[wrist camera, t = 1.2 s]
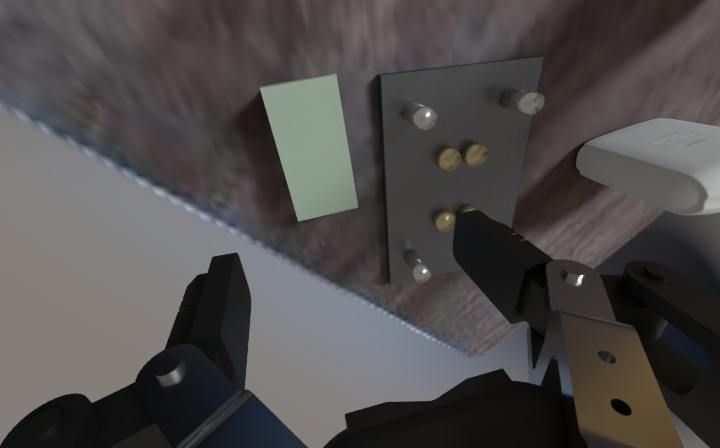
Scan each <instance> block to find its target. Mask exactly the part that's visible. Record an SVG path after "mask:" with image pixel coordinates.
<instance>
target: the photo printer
mask: <svg viewBox="0 0 720 448" xmlns="http://www.w3.org/2000/svg"><path fill="white" fill-rule="evenodd" d="M576 167H577V169H578V170H579V171H580V174H581V175H582V176H584V177H586V178H589V179H591V180H594V181H596V182H599V183H601V184H604V185H606V186H609V187H611V188H614V189H616V190H619V191H621V192H624V193H626V194H629V195H631V196H633V197H636V198H638V199H641V200H643V201H646V202H648V203H650V204H653V205H655V206H658V207H660V208H663V209H665V210H668V211H670V212H673V213H676V214H680V215H704V214H712V213H718V212H720V127H716V126H710V125H704V124H699V123H693V122H687V121H680V120H675V119H667V118H659V119H652V120H648V121H645V122H641V123H638V124H635V125H632V126H628V127H625V128H622V129H619V130H616V131H614V132H611V133H608V134H605V135H602V136H600V137H597V138H594V139H592V140H590V141H588V142H586V143H585V144H584V146H583V147H581V149H580V150H579V152H578V155H577V158H576Z"/></svg>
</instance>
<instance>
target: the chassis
mask: <svg viewBox="0 0 720 448" xmlns="http://www.w3.org/2000/svg"><path fill="white" fill-rule="evenodd" d="M543 58H544V56H533V57H524V58H516V59H507V60H499V61H490V62H482V63H473V64H464V65H456V66H447V67H439V68H430V69H422V70H413V71H405V72H396V73H387V74H379V75H377V77H378V97H379V116H380V136H381V155H382V174H383V194H384V213H385V232H386V252H387V271H388V281H389V283H390V285H394V284H398V283H403V282H407V281H412V280H416V281H417V282H419V283H423V282H426V281H427V280H429V278H430V276H434V275H439V274H443V273H448V272H452V271H457V270H461V269H462V268H461V267H460V266H459V264H458V263H457V262H456V260H455V258H454V255H453V250H452V247H453V237H454V228H455V219H456V216H457V214H458V213H461V212H466V211H472V210H480V211H481V212H483V213H484V214H485V215H487V216H488V217H489V218H491V219H492V220H495V221H498V222H500V223H503V224H505V225H507V226H509V227H510V228H511V227H512V222H513V216H514V211H515V206H516V200H517V195H518V190H519V185H520V179H521V174H522V169H523V163H524V158H525V153H526V147H527V142H528V137H529V132H530V126H531V121H532V116H533V114H536V113H538V112H539V111H540V110H541V109H542V107H543V105H544V96H543V95H542V94H541V93H537V89H538V84H539V79H540V73H541V68H542V63H543Z"/></svg>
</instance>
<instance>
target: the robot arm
mask: <svg viewBox="0 0 720 448" xmlns="http://www.w3.org/2000/svg"><path fill="white" fill-rule="evenodd" d="M452 250H453V255H454V258H455V260H456V262H457V263H458V264H459V266H460V267H461V268H462V269H463V270H464V271H465V272H466V274H467V275H468V276H469V277H470V278H471V279H472V280H473V281H474V283H475V284H476V285H477V286H478V287H479V288H480V289H481V291H482V292H483V293H484V294H485V295H486V296H487V297H488V298H489V300H490V301H491V302H492V303H493V304H494V305H495V306H496V308H497V309H498V310H499V311H500V312H501V313H502V314H503V316H504V317H505V318H506V319H507V320H508V321H509V322H510V323H511V324H514V323H518V322H522V321H527V322H528V324H529V326H528V329H527V347H528V373H529V381H528V383H527V382H519V381H512V380H511V379H510V378H509V376H508V375H507V374H506V372H505V371H504V370H503V369H499V370H496V371H492V372H489V373H485V374H482V375H478V376H475V377H471V378H468V379H466V380H464V381H463V382H461V383H460V384H458V385H457V386H455V387H454V388H452V389H451V390H449V391H448V392H446V393H445V394H443V395H441V396H440V397H438V398H437V399H435V400H432V401H415V402H385V403H382V404H378V405H375V406H371V407H368V408H365V409H361V410H357V411H354V412H350V413H347V414H345V419H346V425H347V428H346V429H345V430H343V431H342V432H340V433H339V434H337V435H336V436H335V437H334V438H333V439H331V440H330V441H329V442H328V443H327V444H326V445H325V446H324V447H323V448H684V447H683V444H682V442H681V439H680V437H679V434H678V432H677V430H676V427H675V424H674V422H673V420H672V417H671V415H670V413H669V410H668V408H669V409H670V410H671V411H672V412H673V413H674V414H675V415H676V416H677V417H678V418H679V419H680V420H682V421H683V422H684V423H685V424H686V425H687V426H688V427H689V428H690V429H691V430H692V431H693V432H694V433H695V434H696V435H697V436H698V437H699V438H700V439H701V440H702V441H703V442H705V443H706V444H707V445H708V446H709V447H710V448H720V296H719V295H718V294H716V293H714V292H712V291H710V290H709V289H707V288H705V287H704V286H702V285H700V284H698V283H696V282H695V281H693V280H691V279H690V278H688V277H686V276H685V275H683V274H681V273H679V272H677V271H676V270H674V269H672V268H670V267H667V266H664V265H662V264H658V263H654V262H650V261H641V260H640V261H638V260H637V261H631V262H629V263H627V264H626V266H625V268H624V270H623V273H622V275H599V274H598V273H597V272H596V271H595V270H593V269H592V268H590V267H589V266H587V265H584V264H582V263H579V262H576V261H571V260H562V259H560V260H553V259H552V258H551V257H549V256H548V255H547V254H545V253H544V252H543V251H541V250H540V249H539V248H537V247H536V246H534V245H533V244H532V243H530V242H529V241H528V240H525V238H524V237H522V236H521V235H519V234H517V232H515V231H514V230H513V229H511V228H510V227H509V226H507V225H505V224H503V223H500V222H498V221H495V220H492V219H491V218H489V217H488V216H487V215H485V214H484V213H483V212H481V211H480V210H472V211H466V212H461V213H458V214H457V216H456V219H455V228H454V237H453V247H452ZM250 313H251V296H250V290H249V287H248V283H247V280H246V277H245V274H244V271H243V267H242V264H241V261H240V258H239V255H238V254H237V253H232V254H225V255H220V256H214V257H212V260H211V263H210V267H209V270H208V273H205V274H200V275H197V277H195V279H194V280H193V281H192V282H191V283H190V284H189V285H188V286H187V288H186V291H185V294H184V297H183V301H182V303H181V305H180V308H179V312H178V314H177V316H176V319H175V322H174V325H173V328H172V330H171V333H170V336H169V339H168V341H167V344H166V347H165V350H163V351H162V352H160V353H158V354H157V355H155V356H154V357H153V358H151V359H150V360H149V361H148V362H147V363H146V364H145V365H144V366H143V368H142V369H141V370H140V372H139V373H138V375H137V378H136V380H135V382H134V383H133V384H130V385H129V386H127V387H125V388H123V389H121V390H119V391H116V392H114V393H112V394H110V395H108V396H106V397H104V398H102V399H100V400H98V401H96V402H93V403H91V402H90V400H89V399H88V398H87V397H86V396H84V395H82V394H68V395H64V396H60V397H58V398H55V399H53V400H51V401H49V402H47V403H45V404H43V405H41V406H40V407H38V408H37V409H35V410H34V411H32V412H31V413H30V414H28V415H27V416H26V417H24V419H22V420H21V421H20V422H19V423H18V424H17V425H16V426H15V427H14V428H13V429H12V431H10V432H9V433H8V435H7V436H6V438H5V439H4V440H3V442H2V444H1V445H0V448H308V447H307V446H306V445H305V444H304V443H303V442H302V441H301V440H300V439H299V438H298V437H297V436H296V435H295V434H294V433H293V432H292V431H291V430H290V429H288V427H287V426H286V425H285V424H284V423H283V422H282V421H281V420H280V419H279V418H278V417H277V416H276V415H275V414H274V413H273V412H272V411H270V409H268V407H266V406H265V405H264V404H263V403H262V402H261V401H260V400H259V399H258V398H257V397H256V396H255V395H254V394H253V393H252V392H250V391H249V390H245V378H246V377H245V376H246V365H247V352H248V340H249V327H250ZM668 322H669V323H670V324H672V325H673V326H674V327H676V328H677V329H678V330H680V331H681V332H683V333H684V334H685V335H687V336H688V337H690V338H691V339H692V340H694V341H695V342H696V343H698V344H699V345H700V346H702V347H703V348H704V349H705V351H706V352H707V353H708V355H709V358H710V361H711V362H710V366H709V368H708V369H707V370H706V372H703V371H702V370H701V369H699V368H698V367H697V366H696V365H695V364H693V363H692V362H691V361H689V360H688V359H687V358H686V357H684V356H683V355H682V354H680V353H679V352H678V351H677V350H675V349H674V348H673V347H672V346H670V345H669V344H668V343H667V342H665V341H664V340H663V339H661V338H660V337H659V336H660V335H661V332H662V331H663V330H664V328H665V326H666V325H667V323H668ZM244 390H245V391H244Z"/></svg>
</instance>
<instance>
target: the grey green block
mask: <svg viewBox="0 0 720 448" xmlns="http://www.w3.org/2000/svg"><path fill="white" fill-rule="evenodd" d="M260 91H261V94H262V98H263V101H264V105H265V108H266V111H267V115H268V118H269V122H270V125H271V129H272V132H273V136H274V139H275V143H276V146H277V150H278V153H279V157H280V160H281V164H282V167H283V170H284V174H285V177H286V181H287V184H288V188H289V191H290V195H291V198H292V202H293V205H294V209H295V212H296V216H297V219H298V222H299V221H303V220H307V219H312V218H316V217H320V216H324V215H328V214H333V213H337V212H341V211H345V210H350V209H354V208H358V202H357V196H356V190H355V184H354V178H353V172H352V166H351V160H350V154H349V148H348V142H347V136H346V130H345V124H344V118H343V112H342V106H341V100H340V94H339V88H338V82H337V76H336V74H326V75H320V76H315V77H309V78H304V79H298V80H293V81H287V82H282V83H276V84H271V85H265V86H262V87H260Z"/></svg>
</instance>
